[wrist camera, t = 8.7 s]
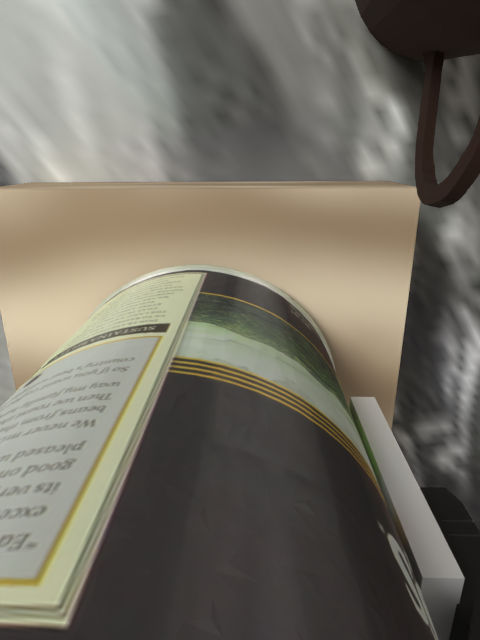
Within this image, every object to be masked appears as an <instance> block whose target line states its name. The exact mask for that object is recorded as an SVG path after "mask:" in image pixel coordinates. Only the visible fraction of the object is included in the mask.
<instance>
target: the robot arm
mask: <svg viewBox="0 0 480 640" xmlns="http://www.w3.org/2000/svg"><path fill="white" fill-rule="evenodd" d="M349 409H350V412H351V415H352V418H353V420H354V423H355V425H356V428H357V430H358V433H359V436H360V438H361V441H362V443H363V446H364V448H365V451H366V453H367V456H368V458H369V461H370V463H371V466H372V469H373V471H374V474H375V477H376V479H377V482H378V485H379V487H380V490H381V492H382V494H383V497H384V499H385V502H386V504H387V507H388V510H389V512H390V515H391V518H392V520H393V522H394V523H395V527H396V530H397V533H398V535H399V537H400V540H401V542H402V545H403V547H404V550H405V552H406V554H407V557H408V560H409V563H410V565H411V568H412V571H413V574H414V577H415V579H416V581H417V583H418V585H419V587H420V590H421V593H422V596H423V599H424V602H425V604H426V607H427V610H428V612H429V615H430V618H431V621H432V623H433V626H434V629H435V632H436V634H437V637H438V639H439V640H480V533H479V531H478V529H477V527H476V526H475V524H474V523H472V519H471V517H470V516H469V514H468V512H467V511H466V509H465V507H464V506H463V504H462V502H460V501H459V500H458V499H457V498H456V497H455V496H454V495H452V494H451V493H450V492H449V491H448V490H447V489H446V488H420V487H419V485H418V483H417V481H416V479H415V477H414V475H413V473H412V471H411V469H410V467H409V465H408V463H407V461H406V459H405V457H404V455H403V453H402V451H401V449H400V447H399V445H398V443H397V441H396V439H395V437H394V435H393V433H392V431H391V429H390V427H389V425H388V423H387V421H386V419H385V417H384V415H383V413H382V411H381V409H380V407H379V405H378V403H377V401H376V399H375V397H350V407H349Z"/></svg>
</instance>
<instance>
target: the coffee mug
mask: <svg viewBox="0 0 480 640" xmlns="http://www.w3.org/2000/svg"><path fill="white" fill-rule="evenodd" d="M355 1H356V4H357V7H358V10H359V13H360V15H361V17H362V19H363V21H364V22H365V24H366V26H367V27H368V29H369V31H370V32H371V33H372V34H373V35H374V36H375V38H376V39H377V40H378V41H379V42H380V43H381V44H382V45H384V46H385V47H387V48H388V49H390V50H391V51H393V52H394V53H396V54H398V55H401V56H404V57H406V58H409V59H414V60H421V61H424V62H425V75H424V85H423V91H422V99H421V106H420V114H419V123H418V131H417V140H416V153H415V179H416V189H417V195H418V197H419V199H420V200H421V202H422V203H423V204H425V205H429V206H433V207H438V208H440V207H444V206H448V205H451V204H454V203H455V202H456V201H458V200H459V199H460V198H461V197H462V196H463V195H464V194H465V193H466V191H467V190H468V189H469V188H470V186H471V185H472V184H473V182H474V181H475V179H476V178H477V177H478V175H479V173H480V117H479V120H478V123H477V126H476V129H475V132H474V134H473V137H472V138H471V141H470V143H469V145H468V147H467V148H466V150H465V152H464V154H463V155H462V157H461V159H460V160H459V162H458V163H457V165H456V166H455V168H454V169H453V171H452V172H451V173H450V175H449V176H448V177H447V178H446V179H445V180H444V181H443V182H442V183H440V184H437V180H436V177H435V166H434V161H433V143H434V134H435V124H436V115H437V106H438V99H439V91H440V82H441V72H442V66H443V61H444V59H450V58H456V57H463V56H469V55H475V54H480V0H355Z"/></svg>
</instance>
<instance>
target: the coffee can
mask: <svg viewBox="0 0 480 640" xmlns="http://www.w3.org/2000/svg"><path fill="white" fill-rule="evenodd" d="M0 640H439V639H438V637H437V634H436V632H435V629H434V626H433V623H432V621H431V618H430V615H429V612H428V610H427V607H426V604H425V602H424V599H423V596H422V593H421V590H420V587H419V585H418V583H417V581H416V579H415V577H414V574H413V571H412V568H411V565H410V563H409V560H408V557H407V554H406V552H405V550H404V547H403V545H402V542H401V540H400V537H399V535H398V533H397V530H396V527H395V523H394V522H393V520H392V518H391V515H390V512H389V510H388V507H387V504H386V502H385V499H384V497H383V494H382V492H381V490H380V487H379V485H378V482H377V479H376V477H375V474H374V471H373V469H372V466H371V463H370V461H369V458H368V456H367V453H366V451H365V448H364V446H363V443H362V441H361V438H360V436H359V433H358V430H357V428H356V425H355V423H354V420H353V418H352V415H351V412H350V409H349V407H348V404H347V401H346V399H345V396H344V393H343V391H342V388H341V385H340V382H339V380H338V377H337V374H336V371H335V365H334V362H333V359H332V356H331V353H330V349H329V347H328V345H327V342H326V340H325V338H324V337H323V335H322V333H321V331H320V329H319V328H318V326H317V325H316V323H315V322H314V321H313V320H312V318H311V317H310V315H309V314H308V312H307V311H306V310H305V309H304V308H303V307H302V306H301V305H300V304H299V303H297V302H296V301H295V300H294V299H293V298H291V297H290V296H289V295H288V294H286V293H285V292H284V291H282V290H281V289H279V288H278V287H276V286H275V285H273V284H271V283H269V282H267V281H265V280H263V279H261V278H259V277H257V276H255V275H252V274H249V273H246V272H243V271H239V270H236V269H232V268H227V267H222V266H214V265H208V264H189V265H180V266H174V267H168V268H163V269H160V270H156V271H153V272H150V273H148V274H145V275H142V276H140V277H138V278H136V279H134V280H132V281H130V282H128V283H127V284H125V285H123V286H122V287H120V288H119V289H117V290H116V291H115V292H113V293H112V294H111V295H109V296H108V297H107V298H106V299H104V300H103V301H102V302H101V303H100V304H99V306H98V307H97V308H96V309H95V310H94V311H93V313H92V314H91V315H90V317H89V318H88V320H87V321H86V322H85V323H84V324H83V325H82V326H81V327H80V328H79V329H78V330H77V331H76V332H75V333H74V334H73V335H72V336H71V337H70V338H69V339H68V340H67V341H66V342H65V343H64V344H63V345H62V346H61V347H60V348H59V349H58V350H57V351H56V352H55V353H54V354H53V355H52V356H51V357H50V358H49V359H48V360H47V361H46V362H45V363H44V364H43V365H42V366H41V367H40V368H39V369H38V370H37V371H36V373H35V374H34V375H33V376H32V377H31V378H30V379H29V380H27V381H26V382H25V383H24V384H23V385H21V386H20V387H19V389H18V390H17V391H16V392H15V393H14V394H13V395H12V396H11V397H10V398H9V399H8V400H7V401H6V402H5V403H4V404H3V405H2V406H1V407H0Z"/></svg>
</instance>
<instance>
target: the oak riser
mask: <svg viewBox="0 0 480 640" xmlns="http://www.w3.org/2000/svg"><path fill="white" fill-rule="evenodd" d="M420 201H421V200H420V199H419V197H418V195H417V189H416V187H414V186H409V185H405V184H400V183H395V182H390V181H306V182H74V183H24V184H17V185H10V186H2V187H0V310H1V315H2V320H3V325H4V330H5V335H6V341H7V346H8V351H9V356H10V361H11V366H12V371H13V376H14V381H15V386H16V391H17V390H18V389H19V387H20V386H21V385H23V384H24V383H25V382H26V381H27V380H29V379H30V378H31V377H32V376H33V375H34V374H35V373H36V371H37V370H38V369H39V368H40V367H41V366H42V365H43V364H44V363H45V362H46V361H47V360H48V359H49V358H50V357H51V356H52V355H53V354H54V353H55V352H56V351H57V350H58V349H59V348H60V347H61V346H62V345H63V344H64V343H65V342H66V341H67V340H68V339H69V338H70V337H71V336H72V335H73V334H74V333H75V332H76V331H77V330H78V329H79V328H80V327H81V326H82V325H83V324H84V323H85V322H86V321H87V320H88V318H89V317H90V315H91V314H92V313H93V311H94V310H95V309H96V308H97V307H98V306H99V304H100V303H101V302H102V301H103V300H104V299H106V298H107V297H108V296H109V295H111V294H112V293H113V292H115V291H116V290H117V289H119V288H120V287H122V286H123V285H125V284H127V283H128V282H130V281H132V280H134V279H136V278H138V277H140V276H142V275H145V274H148V273H150V272H153V271H156V270H160V269H163V268H168V267H174V266H180V265H189V264H208V265H214V266H222V267H227V268H232V269H236V270H239V271H243V272H246V273H249V274H252V275H255V276H257V277H259V278H261V279H263V280H265V281H267V282H269V283H271V284H273V285H275V286H276V287H278V288H279V289H281V290H282V291H284V292H285V293H286V294H288V295H289V296H290V297H291V298H293V299H294V300H295V301H296V302H297V303H299V304H300V305H301V306H302V307H303V308H304V309H305V310H306V311H307V312H308V314H309V315H310V317H311V318H312V320H313V321H314V322H315V323H316V325H317V326H318V328H319V329H320V331H321V333H322V335H323V337H324V338H325V340H326V342H327V345H328V347H329V349H330V353H331V356H332V359H333V362H334V365H335V371H336V374H337V377H338V380H339V382H340V385H341V388H342V391H343V393H344V396H345V399H346V401H347V404H348V407H350V397H375V399H376V401H377V403H378V405H379V407H380V409H381V411H382V413H383V415H384V417H385V419H386V421H387V423H388V425H389V427H390V429H391V430H392V422H393V414H394V406H395V398H396V390H397V383H398V375H399V367H400V359H401V351H402V343H403V335H404V327H405V319H406V311H407V304H408V296H409V288H410V280H411V272H412V264H413V256H414V248H415V240H416V232H417V225H418V217H419V209H420Z"/></svg>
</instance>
